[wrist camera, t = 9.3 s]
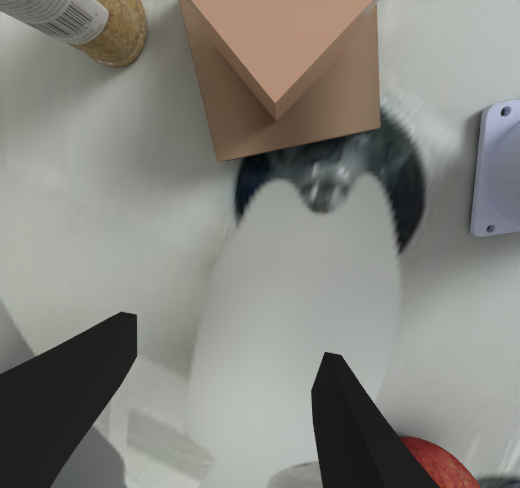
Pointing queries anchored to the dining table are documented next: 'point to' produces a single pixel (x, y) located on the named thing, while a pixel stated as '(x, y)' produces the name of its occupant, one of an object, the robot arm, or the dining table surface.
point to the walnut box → (301, 112)
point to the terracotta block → (281, 41)
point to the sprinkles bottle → (87, 25)
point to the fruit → (440, 464)
